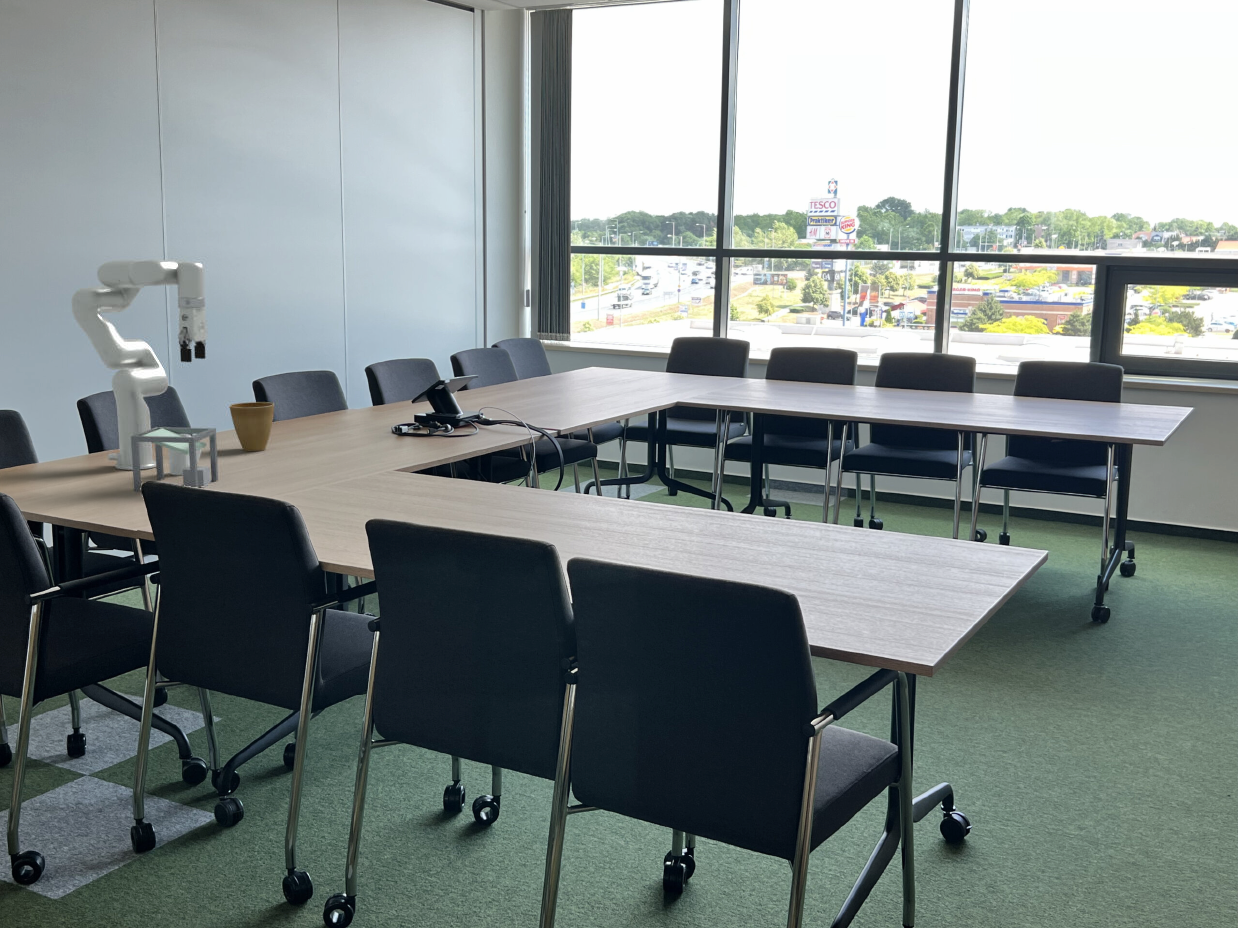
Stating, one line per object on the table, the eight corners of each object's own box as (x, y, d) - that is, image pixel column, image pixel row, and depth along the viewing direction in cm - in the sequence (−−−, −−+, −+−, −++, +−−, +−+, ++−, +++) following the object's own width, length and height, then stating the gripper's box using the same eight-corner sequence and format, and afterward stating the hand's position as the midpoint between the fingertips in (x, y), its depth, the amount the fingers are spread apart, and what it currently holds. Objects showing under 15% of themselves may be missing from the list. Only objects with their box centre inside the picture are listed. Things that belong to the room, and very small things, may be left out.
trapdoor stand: (134, 490, 331) (130, 436, 328) (159, 478, 348) (156, 427, 345) (196, 492, 331) (193, 437, 328) (218, 480, 348) (215, 428, 345)
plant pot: (275, 445, 410) (273, 401, 407) (276, 452, 396) (274, 406, 393) (231, 446, 405) (229, 402, 402) (231, 454, 391) (229, 407, 388)
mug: (174, 476, 352) (172, 438, 350) (166, 473, 357) (163, 435, 355) (206, 472, 359) (204, 435, 357) (197, 469, 364) (196, 432, 362)
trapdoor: (141, 439, 330) (142, 435, 330) (161, 431, 344) (161, 428, 343) (187, 454, 331) (188, 451, 330) (205, 446, 344) (206, 443, 344)
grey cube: (182, 469, 336) (203, 470, 336) (189, 466, 341) (209, 466, 341) (183, 487, 337) (203, 488, 337) (190, 484, 342) (210, 484, 342)
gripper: (191, 305, 336) (193, 363, 339) (215, 302, 353) (216, 358, 356) (166, 304, 336) (168, 362, 340) (191, 301, 353) (193, 356, 356)
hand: (193, 360), depth 348 cm, fingers open, 9 cm apart
